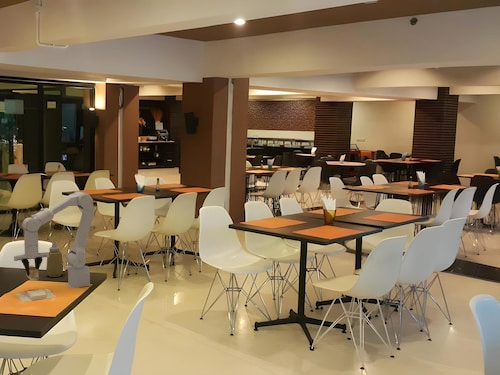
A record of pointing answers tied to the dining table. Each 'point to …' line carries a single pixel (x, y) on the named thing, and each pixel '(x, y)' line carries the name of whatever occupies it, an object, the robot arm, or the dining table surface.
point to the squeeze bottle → (54, 261)
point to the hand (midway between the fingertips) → (32, 274)
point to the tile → (37, 294)
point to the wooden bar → (33, 273)
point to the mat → (26, 298)
